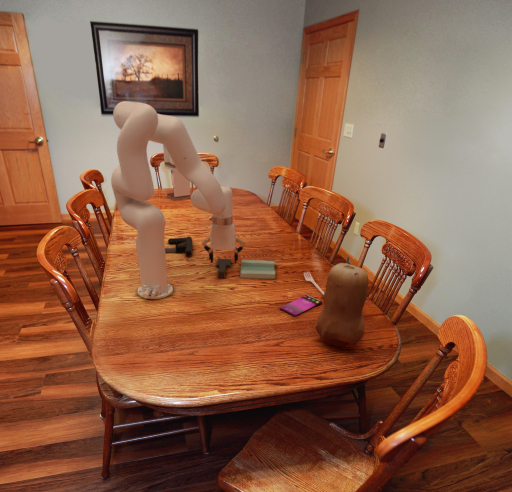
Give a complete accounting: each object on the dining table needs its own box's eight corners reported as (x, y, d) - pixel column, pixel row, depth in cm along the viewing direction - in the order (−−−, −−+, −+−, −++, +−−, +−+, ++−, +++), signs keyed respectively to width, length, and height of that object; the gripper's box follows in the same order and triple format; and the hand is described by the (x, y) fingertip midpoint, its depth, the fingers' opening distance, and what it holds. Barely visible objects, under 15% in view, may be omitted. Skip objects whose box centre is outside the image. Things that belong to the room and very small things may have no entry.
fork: (321, 298, 147) (322, 293, 146) (302, 276, 163) (302, 271, 162) (329, 297, 148) (330, 292, 147) (309, 275, 164) (310, 271, 163)
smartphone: (322, 303, 143) (322, 301, 143) (294, 316, 134) (295, 314, 134) (306, 296, 148) (307, 294, 147) (279, 308, 139) (279, 306, 138)
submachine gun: (156, 252, 173) (194, 250, 174) (160, 237, 189) (194, 235, 191) (157, 260, 174) (194, 257, 176) (161, 244, 191) (194, 242, 193)
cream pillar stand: (182, 194, 269) (178, 137, 250) (190, 198, 262) (187, 139, 243) (167, 196, 263) (162, 137, 244) (175, 200, 256) (171, 139, 237)
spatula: (228, 278, 158) (228, 272, 157) (214, 278, 158) (214, 271, 157) (231, 261, 174) (231, 255, 172) (218, 260, 174) (218, 254, 172)
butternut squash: (354, 332, 128) (369, 258, 114) (365, 356, 117) (383, 277, 103) (311, 331, 127) (321, 257, 114) (318, 355, 116) (330, 276, 102)
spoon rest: (275, 279, 160) (275, 274, 158) (240, 278, 159) (240, 272, 158) (274, 265, 171) (274, 260, 170) (241, 264, 171) (241, 259, 170)
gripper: (199, 222, 151) (201, 265, 160) (244, 224, 151) (244, 266, 160) (201, 216, 157) (203, 257, 167) (245, 218, 157) (245, 258, 167)
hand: (223, 261), depth 164 cm, fingers open, 9 cm apart
